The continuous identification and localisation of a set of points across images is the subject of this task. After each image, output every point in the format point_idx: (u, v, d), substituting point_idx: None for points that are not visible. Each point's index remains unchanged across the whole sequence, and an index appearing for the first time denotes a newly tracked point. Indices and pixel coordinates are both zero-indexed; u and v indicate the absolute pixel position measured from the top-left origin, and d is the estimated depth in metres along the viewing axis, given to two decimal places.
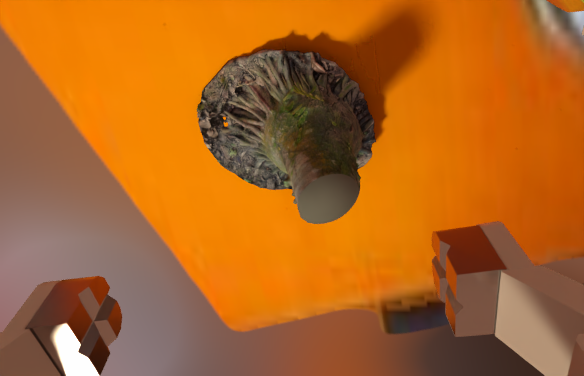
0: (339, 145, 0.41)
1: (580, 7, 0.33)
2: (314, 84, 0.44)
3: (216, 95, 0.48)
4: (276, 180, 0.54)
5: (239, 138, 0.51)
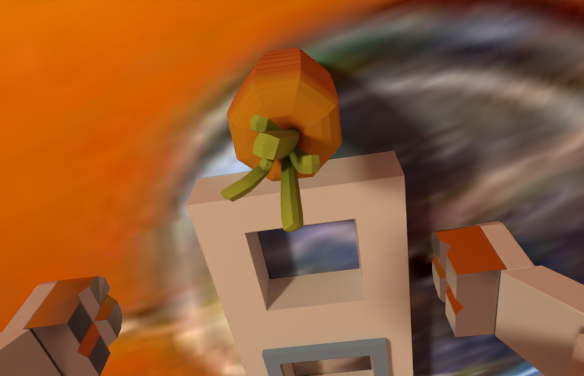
0: None
1: (238, 129, 0.17)
2: None
3: None
4: None
5: None
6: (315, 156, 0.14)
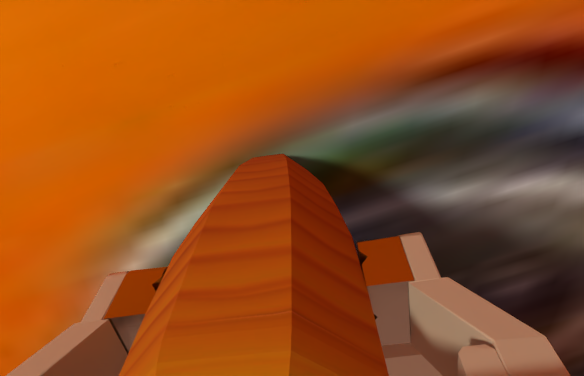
0: None
1: None
2: None
3: None
4: None
5: None
6: None
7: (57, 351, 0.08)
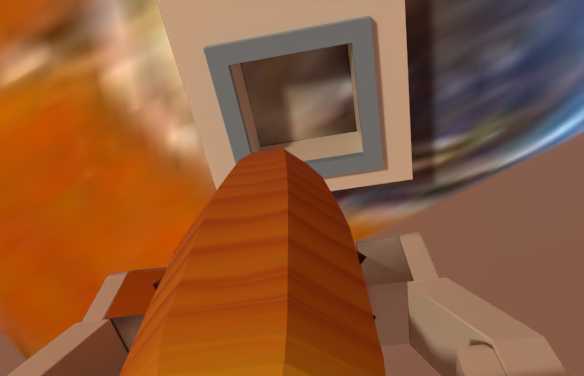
0: None
1: None
2: None
3: None
4: None
5: None
6: None
7: (58, 351, 0.08)
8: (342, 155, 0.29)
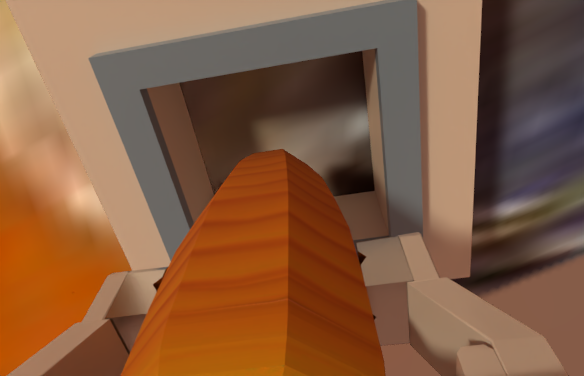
0: None
1: None
2: None
3: None
4: None
5: None
6: None
7: (58, 351, 0.08)
8: None
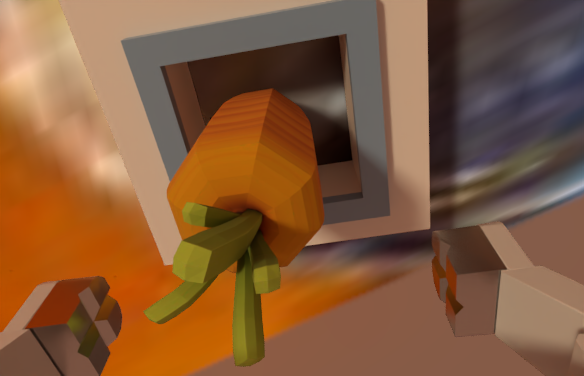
0: None
1: (179, 211, 0.12)
2: None
3: None
4: None
5: None
6: (273, 267, 0.09)
7: None
8: (331, 197, 0.21)
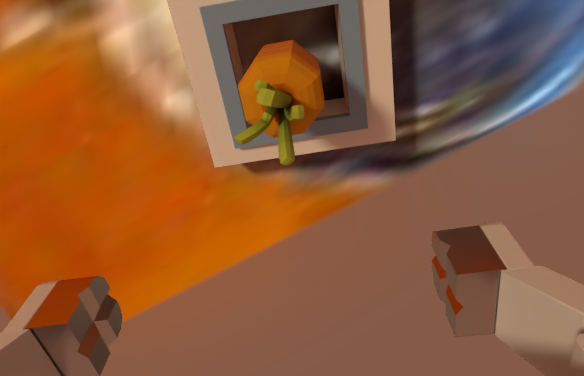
0: None
1: (246, 96, 0.23)
2: None
3: None
4: None
5: None
6: (301, 106, 0.20)
7: None
8: (329, 116, 0.31)
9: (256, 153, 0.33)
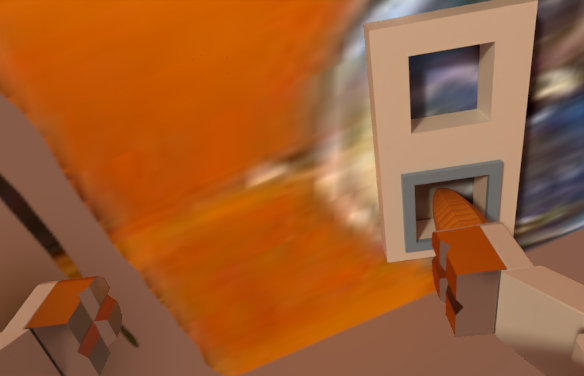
0: None
1: None
2: None
3: None
4: None
5: None
6: None
7: None
8: None
9: (417, 254, 0.49)
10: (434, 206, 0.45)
